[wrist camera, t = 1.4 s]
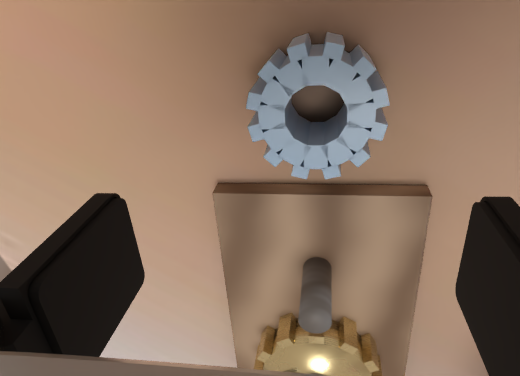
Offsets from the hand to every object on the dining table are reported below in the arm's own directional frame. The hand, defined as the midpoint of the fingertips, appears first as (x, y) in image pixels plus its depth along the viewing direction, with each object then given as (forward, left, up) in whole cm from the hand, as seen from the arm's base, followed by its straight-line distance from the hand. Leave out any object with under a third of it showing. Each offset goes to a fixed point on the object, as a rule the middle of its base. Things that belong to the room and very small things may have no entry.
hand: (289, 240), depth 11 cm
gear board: (0, +17, -15) cm, 23 cm away
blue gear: (0, 0, -15) cm, 15 cm away
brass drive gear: (0, +21, -13) cm, 25 cm away
